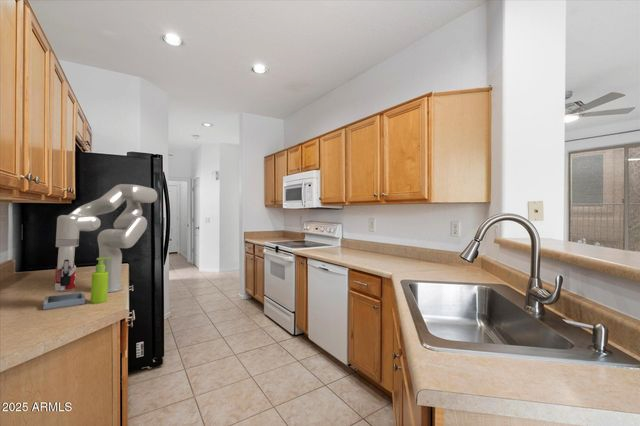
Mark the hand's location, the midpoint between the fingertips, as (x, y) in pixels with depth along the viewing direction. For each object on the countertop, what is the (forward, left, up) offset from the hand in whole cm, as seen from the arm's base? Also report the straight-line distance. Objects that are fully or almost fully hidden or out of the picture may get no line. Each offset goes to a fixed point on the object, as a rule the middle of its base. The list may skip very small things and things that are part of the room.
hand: (65, 283), depth 124 cm
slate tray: (0, 0, -9) cm, 9 cm away
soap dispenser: (+5, +12, -9) cm, 16 cm away
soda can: (0, 0, -3) cm, 3 cm away
